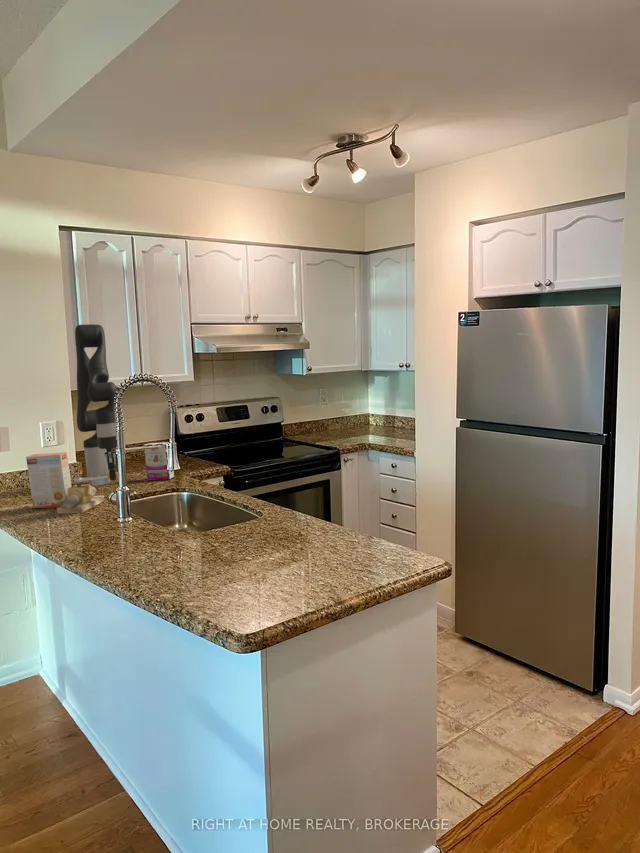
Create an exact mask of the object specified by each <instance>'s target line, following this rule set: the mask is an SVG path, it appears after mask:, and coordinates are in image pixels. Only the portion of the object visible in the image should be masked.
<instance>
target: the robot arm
mask: <svg viewBox="0 0 640 853" xmlns="http://www.w3.org/2000/svg"><path fill="white" fill-rule="evenodd" d="M74 341H75V351H76V353H75V354H76V388H77V410H76V426H77V429H78V431H80V432H82V433H87V432H95V433H94V434H93V435H91V436H90V437H88V438H86V439H85V440H83V443H82V444H83V449H84V458H85V467H86V475H87V476H86V477H92V476H101V475H107V473H109V476H110V479H107V478H104V479H96V480H88V481H87V482H88V483H87V485H88V484H90V486H92V487H97V486H104V485H108V484H110V483H111V481H116V480H117V478H116V475H115V472H116V462H117V461H116V457H117V456H116V450H115V451H114V450H113V449H114V448H118V447H117V440H116V425H117V422H116V410H115V409H116V408H115V407H116V404H115V405H114V397H115V393H116V391H117V392H118V388H117V385H116V384H115V383H114V382H112V381H110V375H109V370H108V366H107V365H108V364H107V349H106V348H107V347H106V346H107V345H106V336H105V330H104V327H103V326H102V325H101V324H93V323H92V324H77V325H76V326H75V329H74ZM86 348H96V350H95V351H94V354H93V355H92V356H91V358H90V357H89V356H88V353H87V352H86V350H85V349H86ZM92 402H94V403H98V402H99V403H100V402H107V405H105V406H102V407H99V408H97V409H91V410H88V408H89V406H90V403H92Z"/></svg>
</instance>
